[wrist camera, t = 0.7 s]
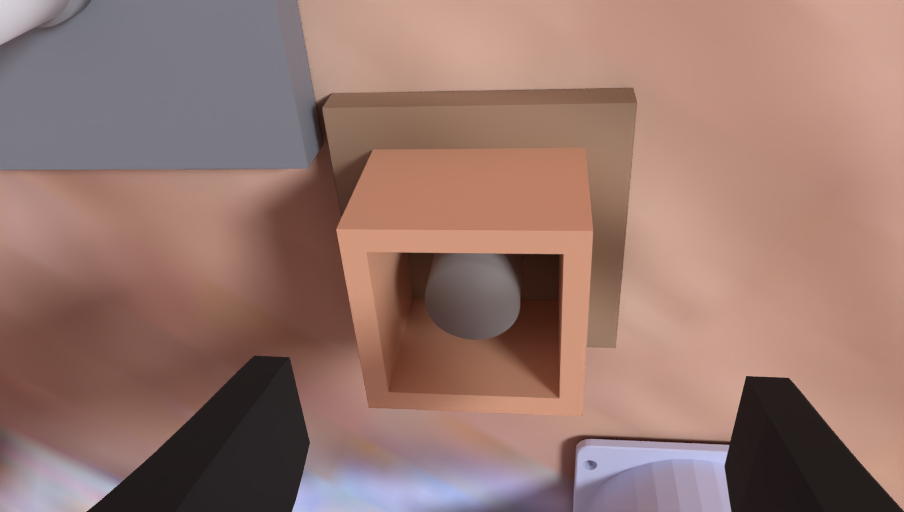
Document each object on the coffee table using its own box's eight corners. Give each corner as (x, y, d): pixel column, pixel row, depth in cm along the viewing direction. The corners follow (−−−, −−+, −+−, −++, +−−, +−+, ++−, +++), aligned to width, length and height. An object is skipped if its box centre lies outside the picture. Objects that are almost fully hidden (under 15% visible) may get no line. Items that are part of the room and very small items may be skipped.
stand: (613, 327, 23) (623, 421, 20) (369, 321, 24) (340, 409, 21) (633, 87, 18) (651, 158, 15) (331, 93, 19) (287, 160, 16)
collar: (577, 316, 21) (582, 415, 18) (395, 312, 22) (368, 407, 19) (585, 147, 18) (592, 230, 15) (372, 149, 19) (336, 228, 16)
